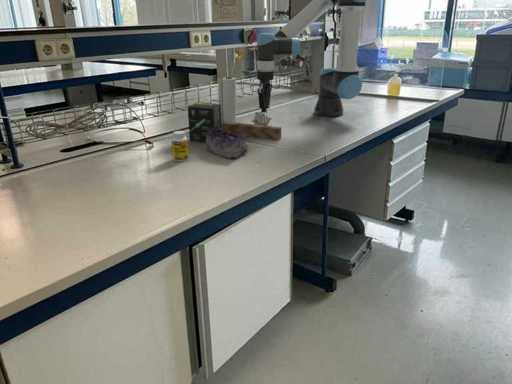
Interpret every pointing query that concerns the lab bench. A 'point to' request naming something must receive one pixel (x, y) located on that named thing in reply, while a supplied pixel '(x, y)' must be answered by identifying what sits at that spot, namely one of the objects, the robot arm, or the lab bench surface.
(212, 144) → the geode
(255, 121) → the game die
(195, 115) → the tampon box
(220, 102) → the paper towel roll
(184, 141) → the supplement bottle
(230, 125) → the board
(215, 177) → the lab bench surface
